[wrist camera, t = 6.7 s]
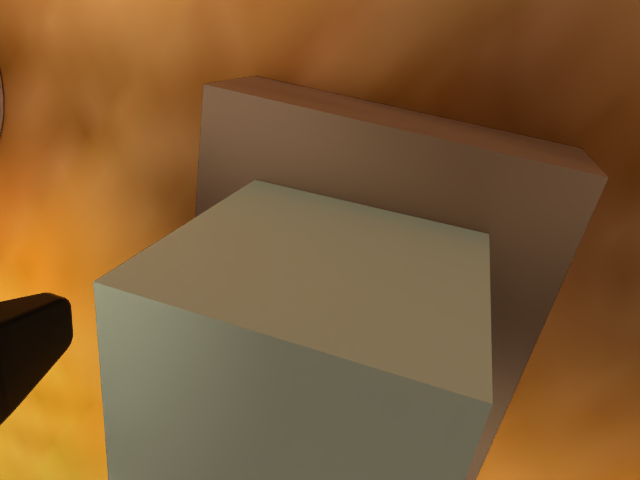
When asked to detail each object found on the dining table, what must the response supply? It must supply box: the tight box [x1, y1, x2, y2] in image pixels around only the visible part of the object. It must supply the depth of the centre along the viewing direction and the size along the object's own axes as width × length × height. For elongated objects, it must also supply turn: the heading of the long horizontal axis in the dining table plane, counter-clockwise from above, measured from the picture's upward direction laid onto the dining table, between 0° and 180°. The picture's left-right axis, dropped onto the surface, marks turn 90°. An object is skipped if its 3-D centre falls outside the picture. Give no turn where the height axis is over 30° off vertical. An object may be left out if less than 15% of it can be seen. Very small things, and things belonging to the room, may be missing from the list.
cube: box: [93, 180, 493, 480], centre depth 9 cm, size 5×5×5 cm
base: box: [195, 76, 609, 480], centre depth 12 cm, size 8×8×3 cm
